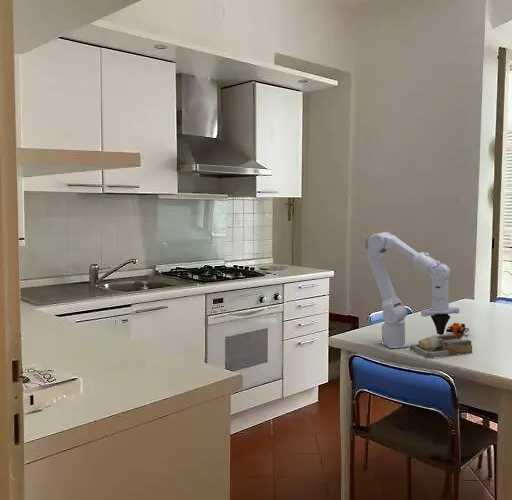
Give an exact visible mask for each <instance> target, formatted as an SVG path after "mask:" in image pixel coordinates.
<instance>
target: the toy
mask: <svg viewBox="0 0 512 500" xmlns="http://www.w3.org/2000/svg"><path fill="white" fill-rule="evenodd" d="M445 329H446V330H445V331H446V333H452V334H455V335H457V337H461V335H462V334H463V333H469V330H470V329H469V328H468V327H466V324H465V323H461V322H460V323H459V322H453V323H452V324H450V326H448V327H446V328H445Z"/></svg>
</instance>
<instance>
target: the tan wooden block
mask: <svg viewBox="0 0 512 500" xmlns="http://www.w3.org/2000/svg"><path fill="white" fill-rule="evenodd" d="M426 338H427V337H426ZM426 338H422V339H420V340H419V339H418V344H419V346H420V348H421V349H423V350H425V351H427V352H434V351H433V346H432V341H430V340H428V339H426Z"/></svg>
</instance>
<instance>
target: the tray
mask: <svg viewBox="0 0 512 500" xmlns="http://www.w3.org/2000/svg"><path fill="white" fill-rule="evenodd" d="M409 345H410V347H409V349H411V350H413V351H414V352H413V351H412V352H413V353H415V352H416V353H415V354H417V353H418V354H417V355H419V354H420V355H419V356H421V355H422V356H421V357H423V356H424V357H423V358H425V357H426V358H425V359H427V358H432V359H435V358H434V357H440V358H442V357H441V356H448V357H450V356H449V351H448V350H445V351H440V350H437V349H435V348H433V351H434V352H427V351H425V350H423V349H421V348H420V346H419V343H416V344H409ZM411 350H410V351H411Z"/></svg>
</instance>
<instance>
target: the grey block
mask: <svg viewBox="0 0 512 500" xmlns="http://www.w3.org/2000/svg"><path fill="white" fill-rule="evenodd" d="M426 339H428V340H430V341H432V346H433V348H436V347H439V346H443V344H442V339H441V337H439V335H437V334H435V335H431V336H427V337H426Z"/></svg>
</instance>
